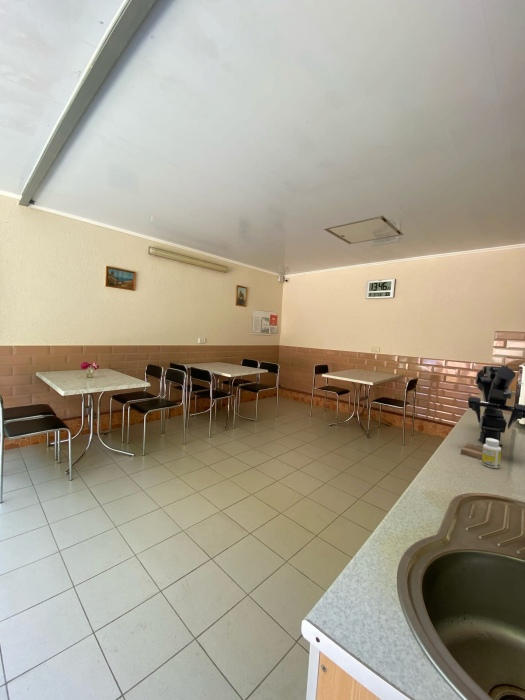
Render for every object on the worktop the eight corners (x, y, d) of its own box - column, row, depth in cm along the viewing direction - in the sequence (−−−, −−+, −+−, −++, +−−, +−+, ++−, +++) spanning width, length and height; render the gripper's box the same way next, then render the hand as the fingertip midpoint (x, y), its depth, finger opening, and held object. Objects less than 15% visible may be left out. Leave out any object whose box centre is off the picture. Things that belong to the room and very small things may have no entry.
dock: (466, 447, 129) (467, 443, 128) (489, 453, 123) (490, 448, 123) (460, 453, 122) (461, 449, 122) (484, 460, 116) (485, 455, 116)
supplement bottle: (493, 462, 114) (495, 437, 114) (503, 469, 109) (505, 443, 108) (478, 461, 115) (480, 436, 114) (487, 468, 110) (489, 442, 109)
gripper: (470, 377, 125) (463, 409, 119) (530, 385, 112) (525, 421, 106) (472, 392, 132) (465, 422, 125) (528, 400, 119) (524, 435, 113)
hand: (493, 425), depth 117 cm, fingers open, 9 cm apart
